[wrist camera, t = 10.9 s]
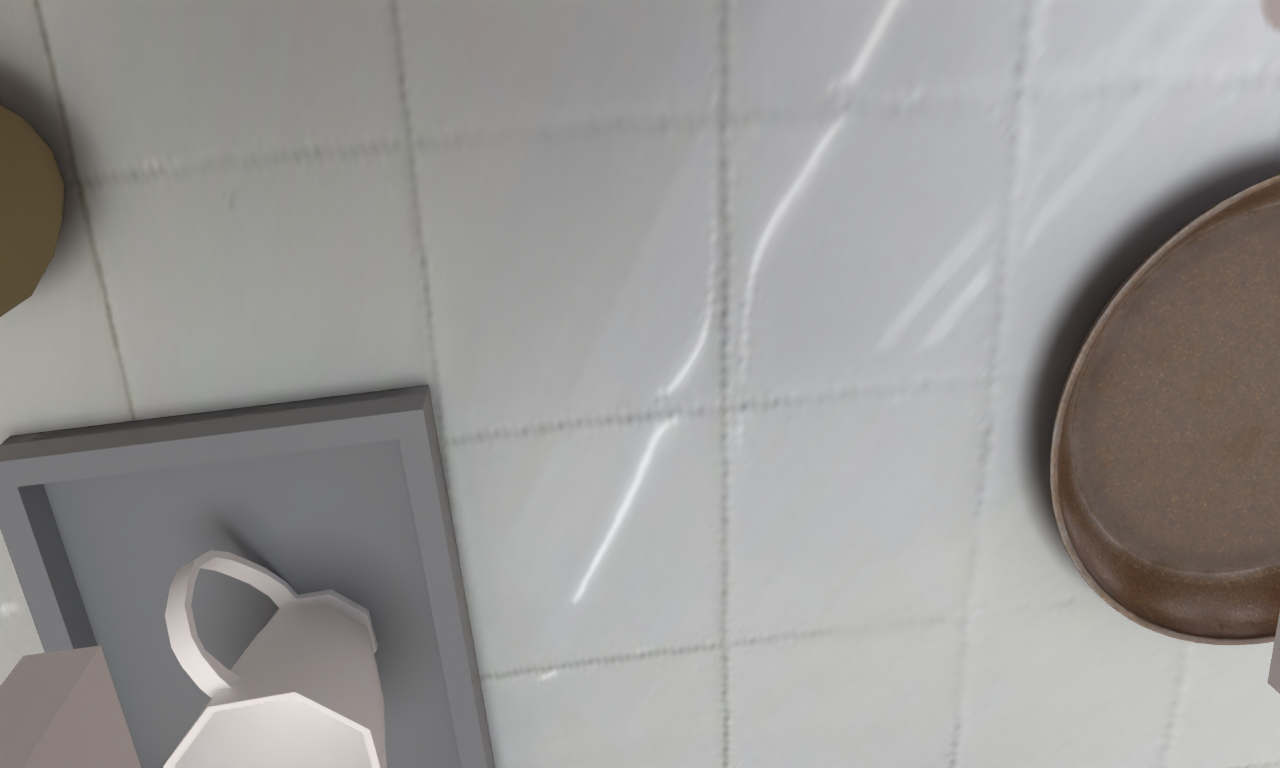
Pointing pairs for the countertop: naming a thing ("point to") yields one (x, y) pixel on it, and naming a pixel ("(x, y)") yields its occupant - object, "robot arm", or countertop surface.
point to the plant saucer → (1182, 433)
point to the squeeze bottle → (26, 208)
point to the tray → (251, 553)
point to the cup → (281, 680)
